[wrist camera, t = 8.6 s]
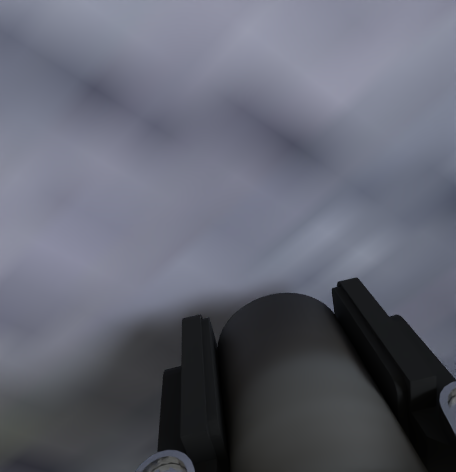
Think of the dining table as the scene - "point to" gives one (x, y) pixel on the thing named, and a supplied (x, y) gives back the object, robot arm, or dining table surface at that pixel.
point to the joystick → (303, 394)
